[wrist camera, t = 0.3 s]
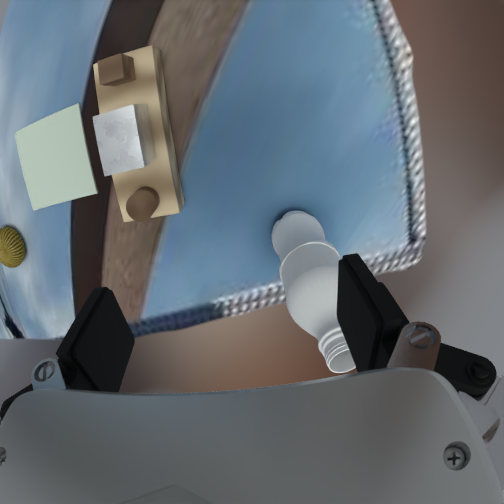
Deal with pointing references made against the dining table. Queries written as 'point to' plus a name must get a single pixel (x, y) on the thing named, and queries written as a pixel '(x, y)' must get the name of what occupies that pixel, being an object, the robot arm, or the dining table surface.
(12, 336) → the dining table surface
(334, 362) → the water bottle
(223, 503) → the robot arm
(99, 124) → the grey block
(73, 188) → the mat
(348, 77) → the dining table surface
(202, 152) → the dining table surface
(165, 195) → the hand plane
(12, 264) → the sculpture
